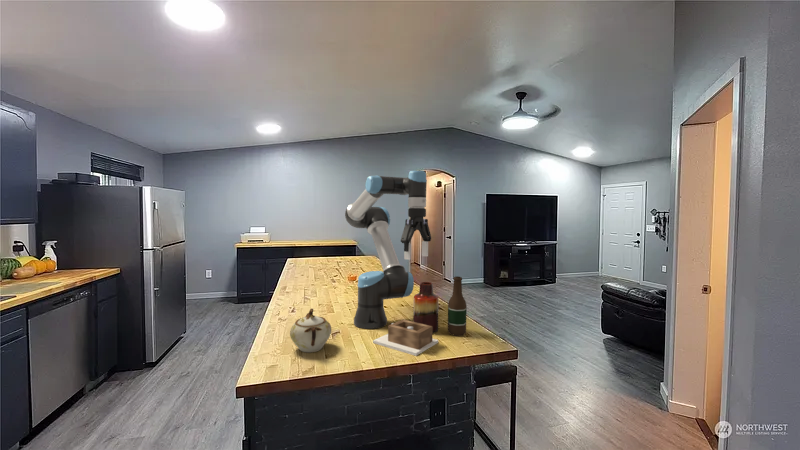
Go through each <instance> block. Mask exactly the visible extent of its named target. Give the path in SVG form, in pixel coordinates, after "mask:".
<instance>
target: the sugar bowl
mask: <svg viewBox="0 0 800 450" xmlns="http://www.w3.org/2000/svg"><path fill="white" fill-rule="evenodd" d="M331 334H332V325H331V323H330V322H329V321H328V320H327V319H326V318H325V317H323V316H318V315H314V308H310V309H309V312H308V313H306V315H305V316H304V317H302V318H301V317H300V318H298V319H297V320H295V322H294V323H293V324H292V325H291V327H290V330H289V337H290V339H291V340H292V342H293V343H294V345H295V346H296V347H297V348H298V350H299V351H300V352H302V353H303V352H304V353H316V352H319V351H320V350H322V349H323V348H324V346H325V345H326V343H327V341H328V340H329V338H330V336H331Z"/></svg>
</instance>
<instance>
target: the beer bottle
mask: <svg viewBox="0 0 800 450" xmlns="http://www.w3.org/2000/svg"><path fill="white" fill-rule="evenodd" d="M452 279H453V286H452V288H453V289H452V295H451V297H450V298H449V300H448V304H447V333H448V334H449V335H450V336H454V337H463V336H464V335H466V333H467V313H468V312H467V309H468V308H467V302H466V300H465V297H464V296H463V286H462V285H463V283H462V282H463V278H462V277H461V276H459V275H458V276H454V277H453V278H452Z"/></svg>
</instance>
